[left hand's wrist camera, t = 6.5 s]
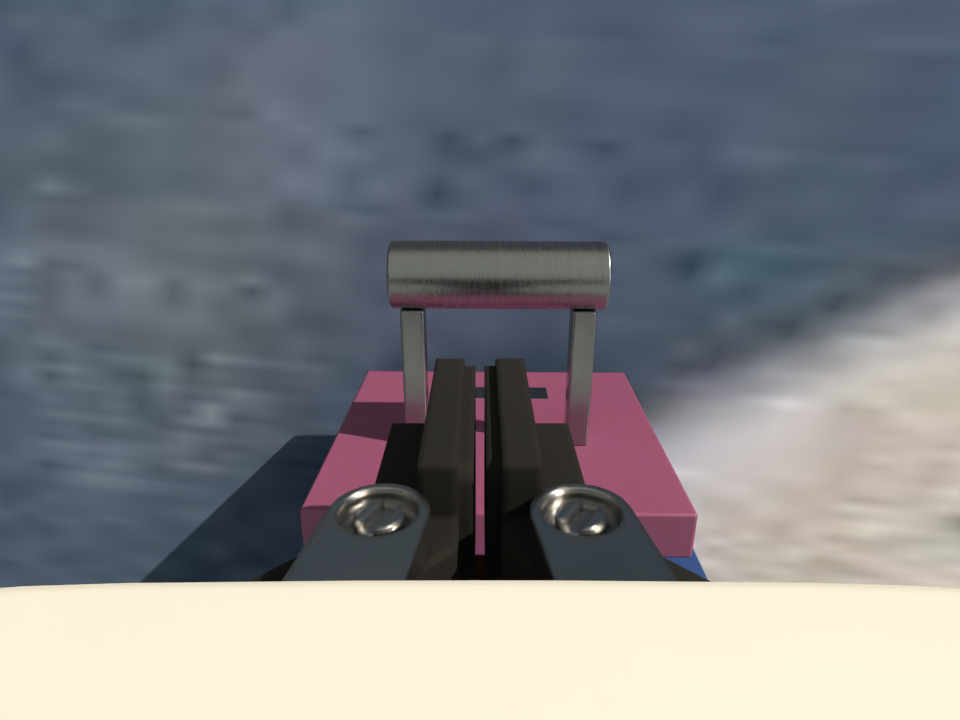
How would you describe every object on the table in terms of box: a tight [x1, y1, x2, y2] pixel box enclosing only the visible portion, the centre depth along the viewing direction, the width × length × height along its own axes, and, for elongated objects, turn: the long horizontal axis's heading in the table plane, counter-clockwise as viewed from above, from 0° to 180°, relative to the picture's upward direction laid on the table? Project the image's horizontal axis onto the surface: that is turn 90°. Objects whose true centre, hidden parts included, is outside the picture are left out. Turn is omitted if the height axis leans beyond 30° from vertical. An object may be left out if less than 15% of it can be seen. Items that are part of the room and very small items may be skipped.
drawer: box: [300, 241, 697, 580], centre depth 20 cm, size 23×9×8 cm, turn 0°
